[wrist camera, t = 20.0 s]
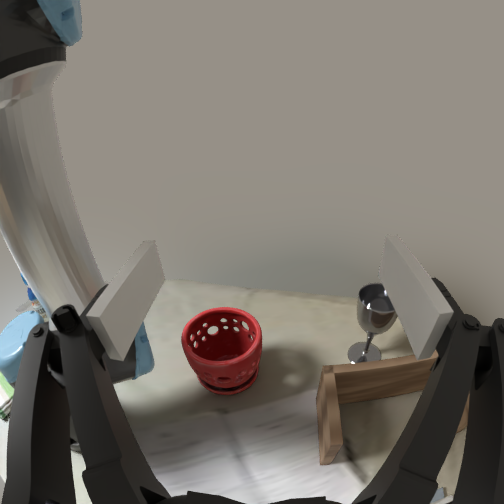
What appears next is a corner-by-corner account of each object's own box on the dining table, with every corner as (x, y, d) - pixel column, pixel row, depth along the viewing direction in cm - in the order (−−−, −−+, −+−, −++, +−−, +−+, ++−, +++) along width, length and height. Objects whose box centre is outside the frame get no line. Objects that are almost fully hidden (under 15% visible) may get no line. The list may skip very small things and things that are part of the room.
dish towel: (-17, 390, 34) (-25, 381, 32) (27, 342, 53) (21, 333, 51) (5, 423, 29) (-5, 415, 27) (54, 364, 48) (47, 354, 46)
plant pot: (185, 392, 44) (166, 351, 38) (211, 344, 55) (200, 301, 49) (253, 410, 40) (247, 371, 35) (271, 355, 51) (270, 310, 45)
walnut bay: (460, 431, 27) (490, 401, 22) (320, 465, 30) (331, 445, 25) (441, 378, 38) (462, 344, 34) (316, 398, 41) (322, 365, 36)
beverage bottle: (78, 321, 62) (49, 258, 52) (64, 342, 54) (29, 277, 45) (59, 318, 62) (31, 259, 53) (45, 337, 55) (12, 276, 45)
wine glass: (367, 376, 43) (387, 318, 36) (337, 354, 49) (349, 295, 42) (390, 353, 47) (410, 296, 40) (362, 335, 53) (375, 277, 46)
